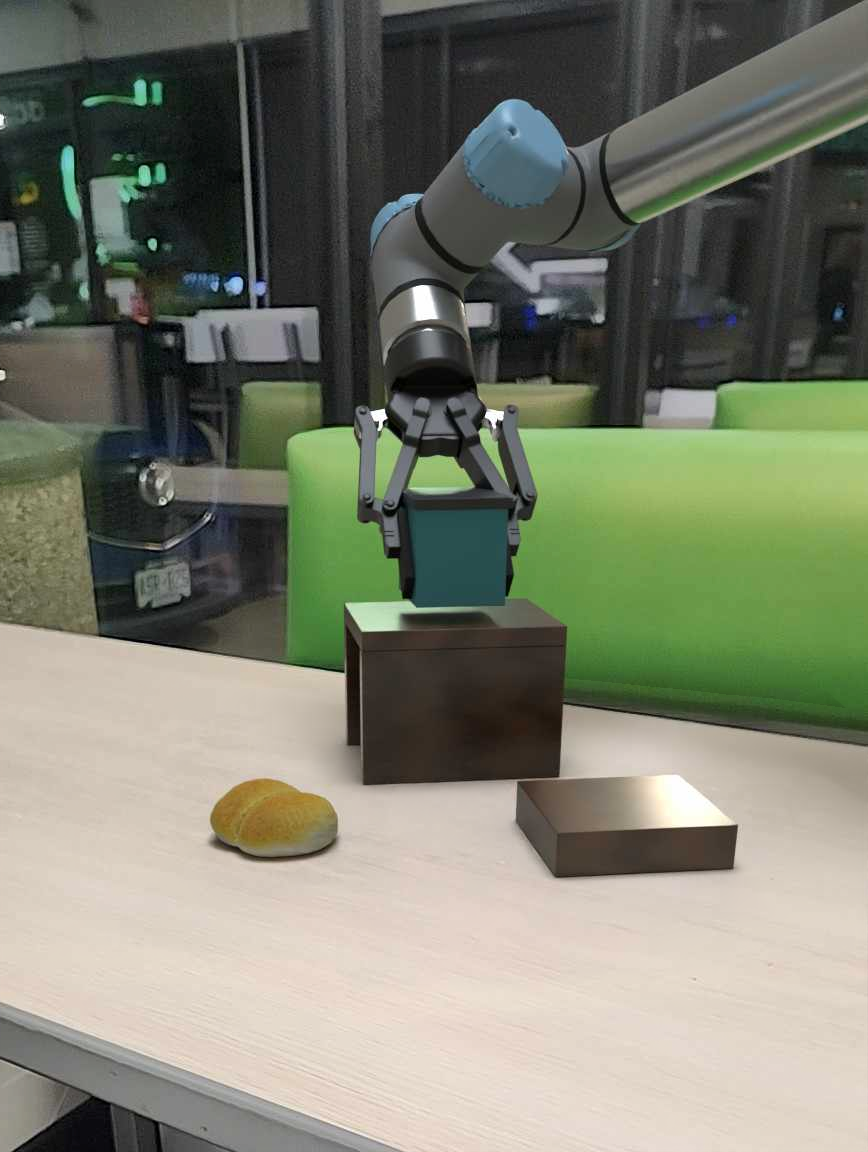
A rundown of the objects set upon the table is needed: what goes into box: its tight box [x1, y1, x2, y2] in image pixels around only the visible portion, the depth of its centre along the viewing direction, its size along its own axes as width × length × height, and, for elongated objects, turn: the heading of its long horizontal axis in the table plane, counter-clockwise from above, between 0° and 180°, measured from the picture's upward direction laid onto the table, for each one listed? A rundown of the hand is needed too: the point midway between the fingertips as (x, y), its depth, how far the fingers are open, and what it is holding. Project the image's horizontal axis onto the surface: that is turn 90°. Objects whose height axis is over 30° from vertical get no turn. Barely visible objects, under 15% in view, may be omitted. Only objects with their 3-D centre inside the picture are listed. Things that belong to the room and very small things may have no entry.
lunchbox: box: [398, 486, 512, 608], centre depth 106 cm, size 7×10×8 cm
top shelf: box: [343, 598, 568, 785], centre depth 110 cm, size 16×14×12 cm
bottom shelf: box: [515, 774, 739, 878], centre depth 91 cm, size 12×12×3 cm
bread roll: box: [209, 778, 339, 858], centre depth 92 cm, size 8×9×4 cm
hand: (457, 586), depth 104 cm, fingers closed on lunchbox, 7 cm apart
